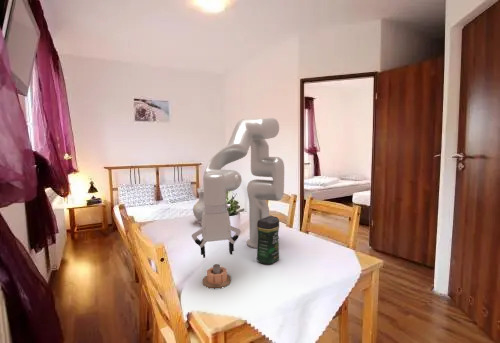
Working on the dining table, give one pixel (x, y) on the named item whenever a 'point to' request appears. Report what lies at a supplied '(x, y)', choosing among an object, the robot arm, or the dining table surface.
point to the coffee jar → (268, 240)
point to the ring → (216, 276)
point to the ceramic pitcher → (199, 205)
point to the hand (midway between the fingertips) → (217, 254)
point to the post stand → (215, 271)
